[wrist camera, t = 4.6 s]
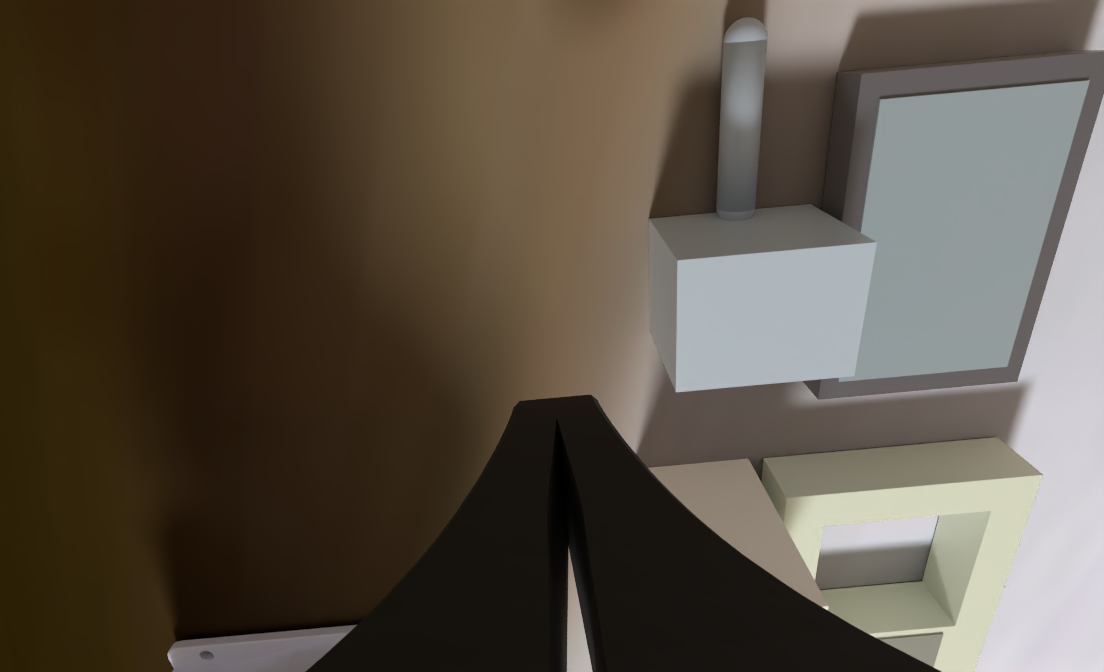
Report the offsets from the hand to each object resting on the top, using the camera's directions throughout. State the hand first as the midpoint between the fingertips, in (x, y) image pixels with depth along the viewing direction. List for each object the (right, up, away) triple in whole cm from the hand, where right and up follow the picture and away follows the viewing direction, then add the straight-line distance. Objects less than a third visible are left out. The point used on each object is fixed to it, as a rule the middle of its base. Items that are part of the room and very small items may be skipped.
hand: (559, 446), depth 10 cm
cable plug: (+5, +6, +6) cm, 10 cm away
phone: (+10, +5, +7) cm, 13 cm away
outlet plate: (+12, -7, +13) cm, 19 cm away
